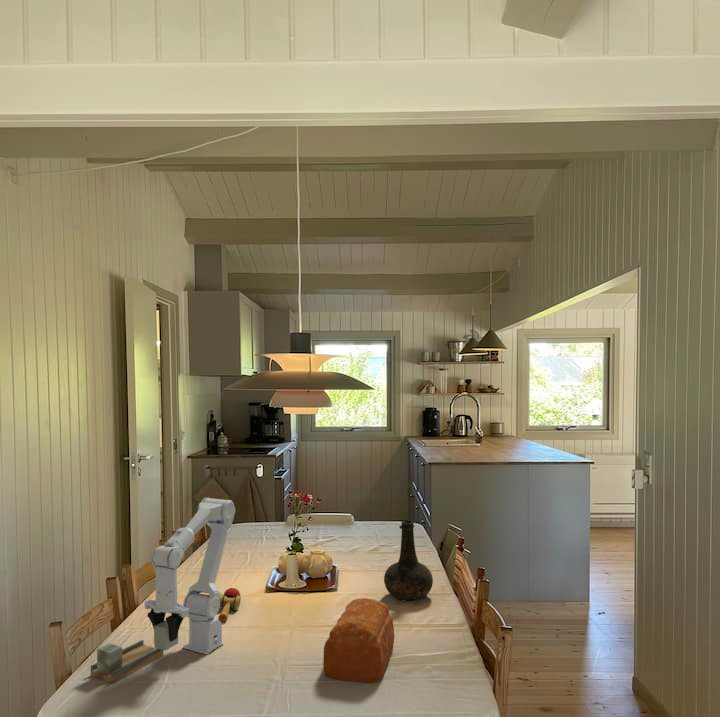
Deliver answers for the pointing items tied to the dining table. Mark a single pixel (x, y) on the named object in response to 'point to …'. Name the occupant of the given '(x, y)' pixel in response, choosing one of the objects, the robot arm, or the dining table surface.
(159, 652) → the jaw track
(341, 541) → the dining table surface
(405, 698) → the dining table surface
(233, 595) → the kendama
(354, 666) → the bread
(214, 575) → the robot arm
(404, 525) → the glass bottle
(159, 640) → the block
